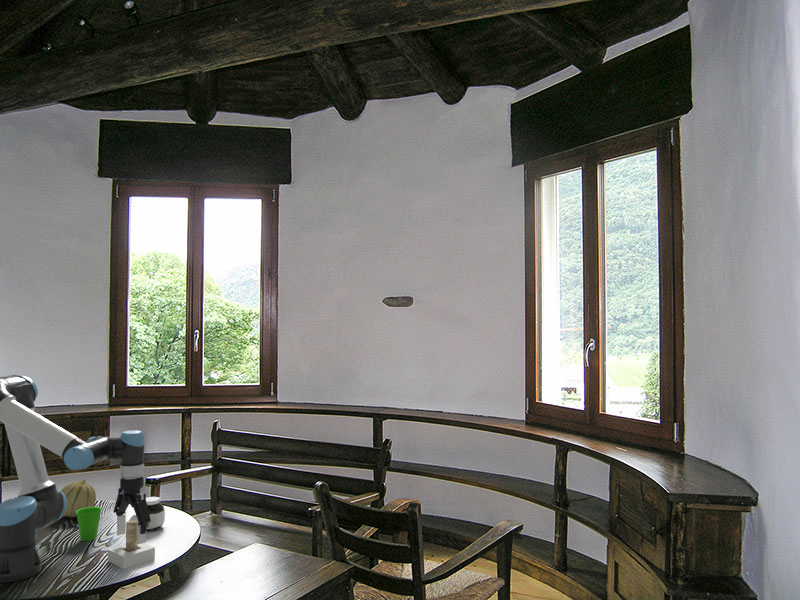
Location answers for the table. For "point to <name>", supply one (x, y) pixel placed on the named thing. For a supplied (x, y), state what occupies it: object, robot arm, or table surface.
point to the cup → (88, 522)
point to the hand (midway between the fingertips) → (131, 538)
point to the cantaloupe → (78, 497)
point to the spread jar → (153, 514)
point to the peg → (131, 536)
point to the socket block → (131, 555)
